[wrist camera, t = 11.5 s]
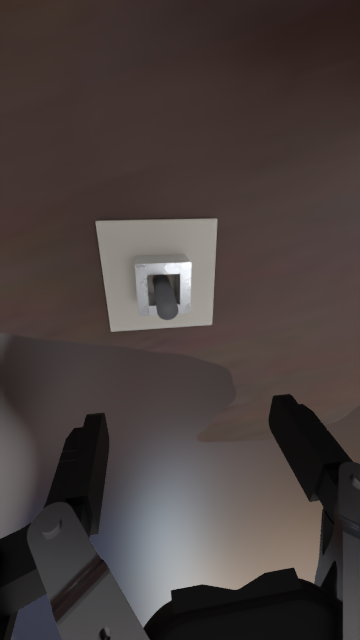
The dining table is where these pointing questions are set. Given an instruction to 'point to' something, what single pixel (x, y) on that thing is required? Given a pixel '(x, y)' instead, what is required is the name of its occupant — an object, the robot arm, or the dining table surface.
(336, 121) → the dining table surface
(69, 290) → the dining table surface
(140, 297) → the collar
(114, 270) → the post
